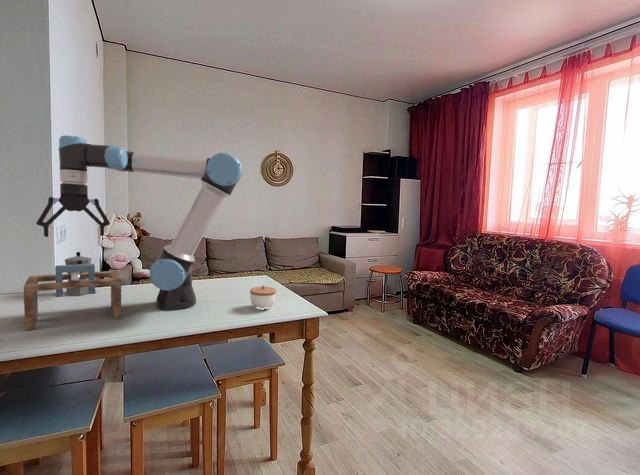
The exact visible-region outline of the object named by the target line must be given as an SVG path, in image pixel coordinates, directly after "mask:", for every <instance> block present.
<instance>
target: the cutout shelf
mask: <svg viewBox="0 0 640 475" xmlns="http://www.w3.org/2000/svg"><path fill="white" fill-rule="evenodd" d="M62 277H63V282H56V280H55V274H43V275H29V276H28V278H27V280H26V282H25V284H24V285H23V305H24V307H23V308H24V310H23V311H24V312H23V314H24V331H25V332H26V331H27V332H29V331H34V329H35V326H36V322H37V319H38V317H39V305H38V302H39V301H38V292H41V291H51V290H52V291H53V290H55V291H56V289H63V290H65V289H67V288H80V287H92V286H95V287H103V286H110V307H111V311H112V315H113V318H114V320H118V319H122V278H121V276H120V275H119V272H118V271H117V270H108V271H107V270H106V271H95V280H83V281H79V282H77V283H74V282H72V281H70V282H68V280H71V274H68V273H62ZM87 278H88V273H80V279H87ZM41 282H43V283H41ZM44 282H45V283H44Z"/></svg>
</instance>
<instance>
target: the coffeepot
mask: <svg viewBox="0 0 640 475" xmlns="http://www.w3.org/2000/svg"><path fill="white" fill-rule="evenodd" d="M81 253H82V252H80V251H77V252H75V255H76V256H72V257H67V258H66V259H64V263H65V264H64V265H78V264H92V257H87V256H83V255H82V256H81ZM80 273H88V271H83V272H80ZM66 274H71V272H67V273H66ZM83 280H88V278H87V279H80V281H83ZM70 281H71V280H67V282H70ZM88 288H89V287H80V288H67V289H66V290H65V295H66V296H69V297H77V296H78V297H80V296H86V295H90V294H89V292H88Z"/></svg>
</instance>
